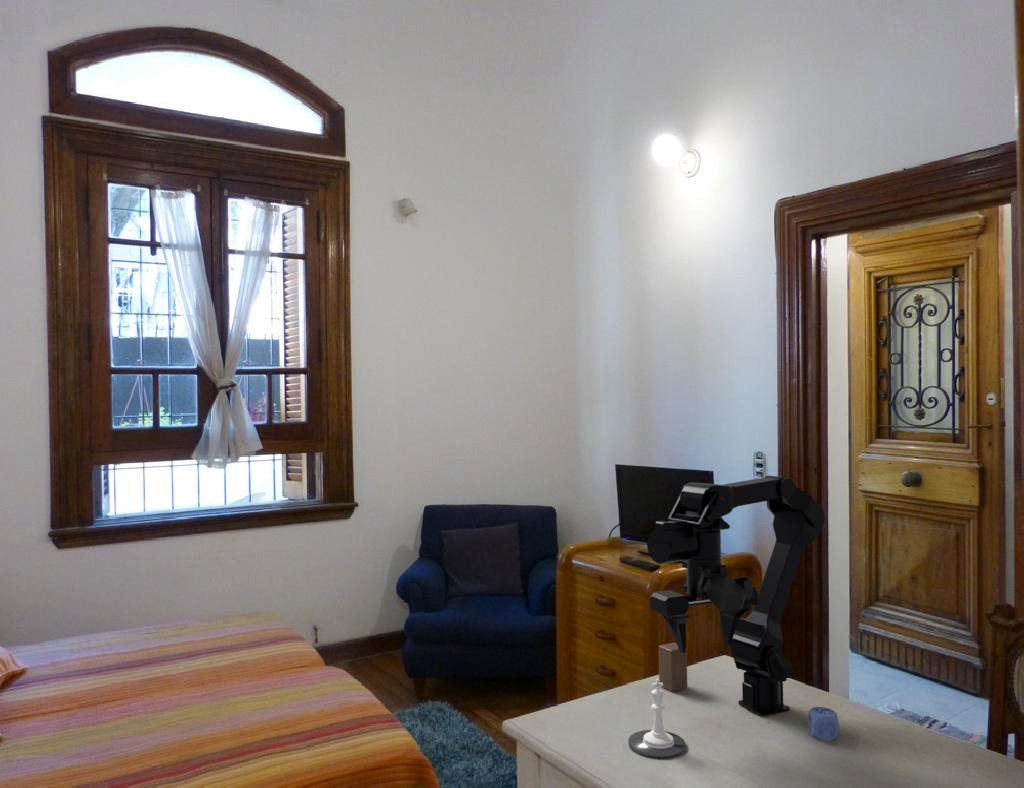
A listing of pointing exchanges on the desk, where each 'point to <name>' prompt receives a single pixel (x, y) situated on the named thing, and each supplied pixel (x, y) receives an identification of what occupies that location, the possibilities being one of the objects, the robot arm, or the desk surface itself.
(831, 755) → the desk surface
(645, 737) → the chess piece
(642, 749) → the carrier plate
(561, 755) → the desk surface
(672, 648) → the wooden block
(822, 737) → the decorative dice
